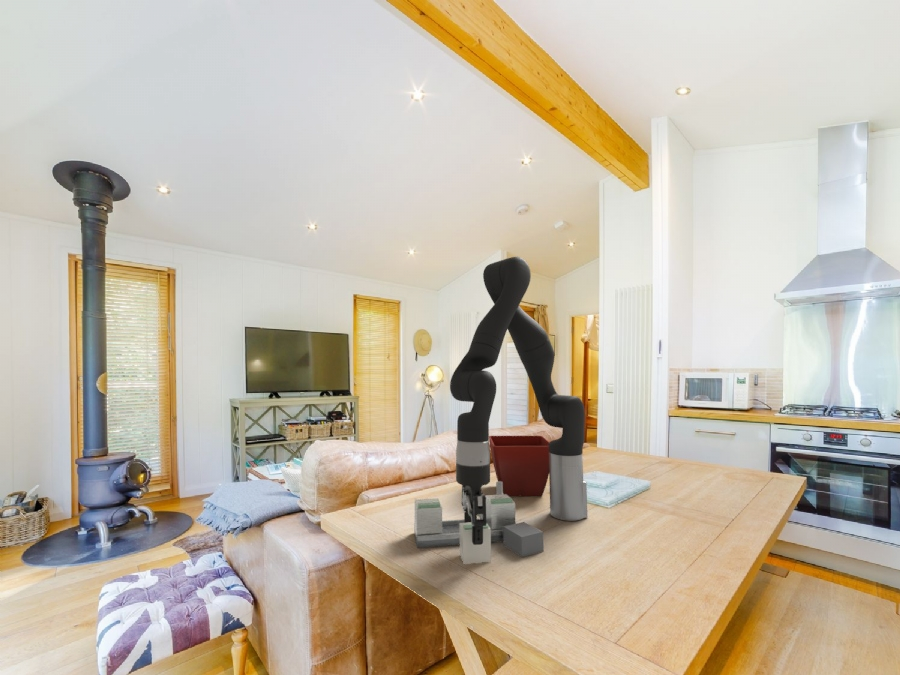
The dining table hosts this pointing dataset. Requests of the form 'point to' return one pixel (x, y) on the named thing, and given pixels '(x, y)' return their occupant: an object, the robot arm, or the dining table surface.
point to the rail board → (459, 521)
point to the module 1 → (471, 551)
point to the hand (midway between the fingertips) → (473, 536)
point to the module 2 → (523, 539)
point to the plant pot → (521, 464)
